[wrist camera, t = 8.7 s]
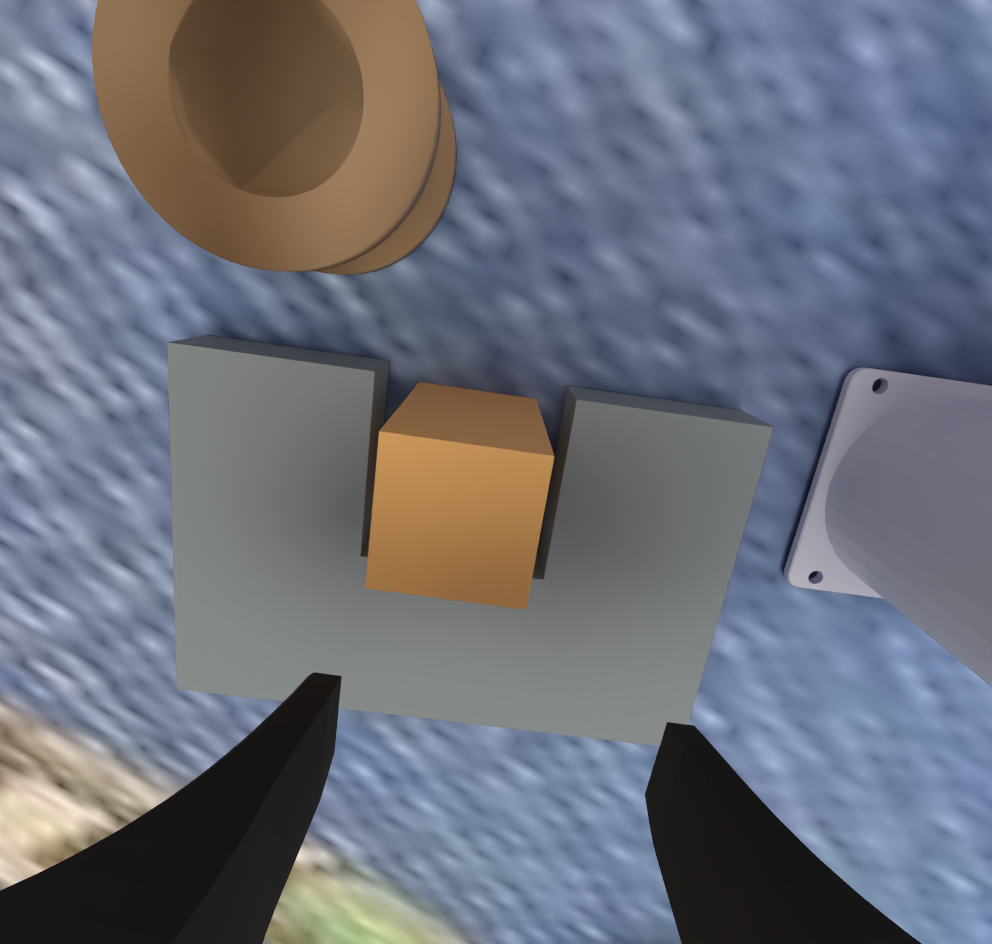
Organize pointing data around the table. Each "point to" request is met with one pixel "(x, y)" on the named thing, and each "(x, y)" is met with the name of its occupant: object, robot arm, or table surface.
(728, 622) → the table surface
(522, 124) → the table surface
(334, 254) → the bobbin post
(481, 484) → the orange rectangular block
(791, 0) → the table surface
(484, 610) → the notched board
